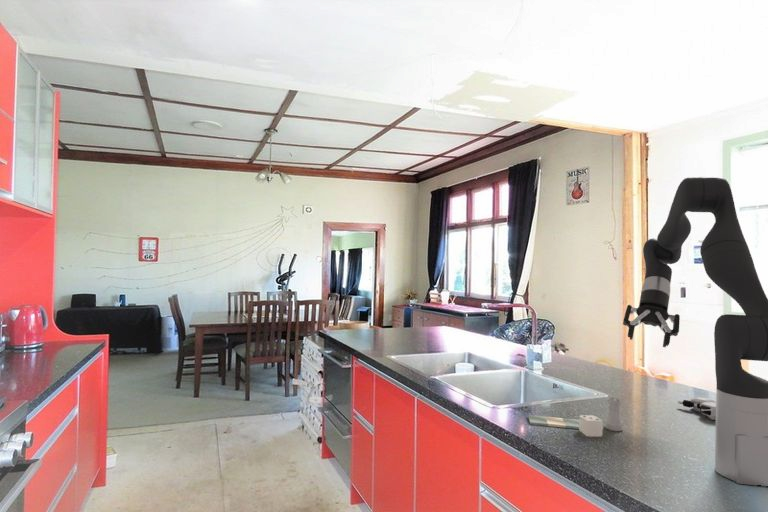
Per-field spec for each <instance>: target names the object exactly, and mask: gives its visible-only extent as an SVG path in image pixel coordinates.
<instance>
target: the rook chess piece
mask: <svg viewBox="0 0 768 512" xmlns="http://www.w3.org/2000/svg"><path fill="white" fill-rule="evenodd" d="M608 398H609V399H608V400H607V402H608V404H609V405H608V410H609V411H608V415H607V417H606V420H605V421H604V423H605V424H604V427H605V429H606V430H608V431H612V432H622V431H623V430H624V427H623V426H624V423H623V421H622V419H621V415H620V410H621V407H620V406H621V404H622V402H621V398H618V397H615V398H614V396H610V397H608Z"/></svg>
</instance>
